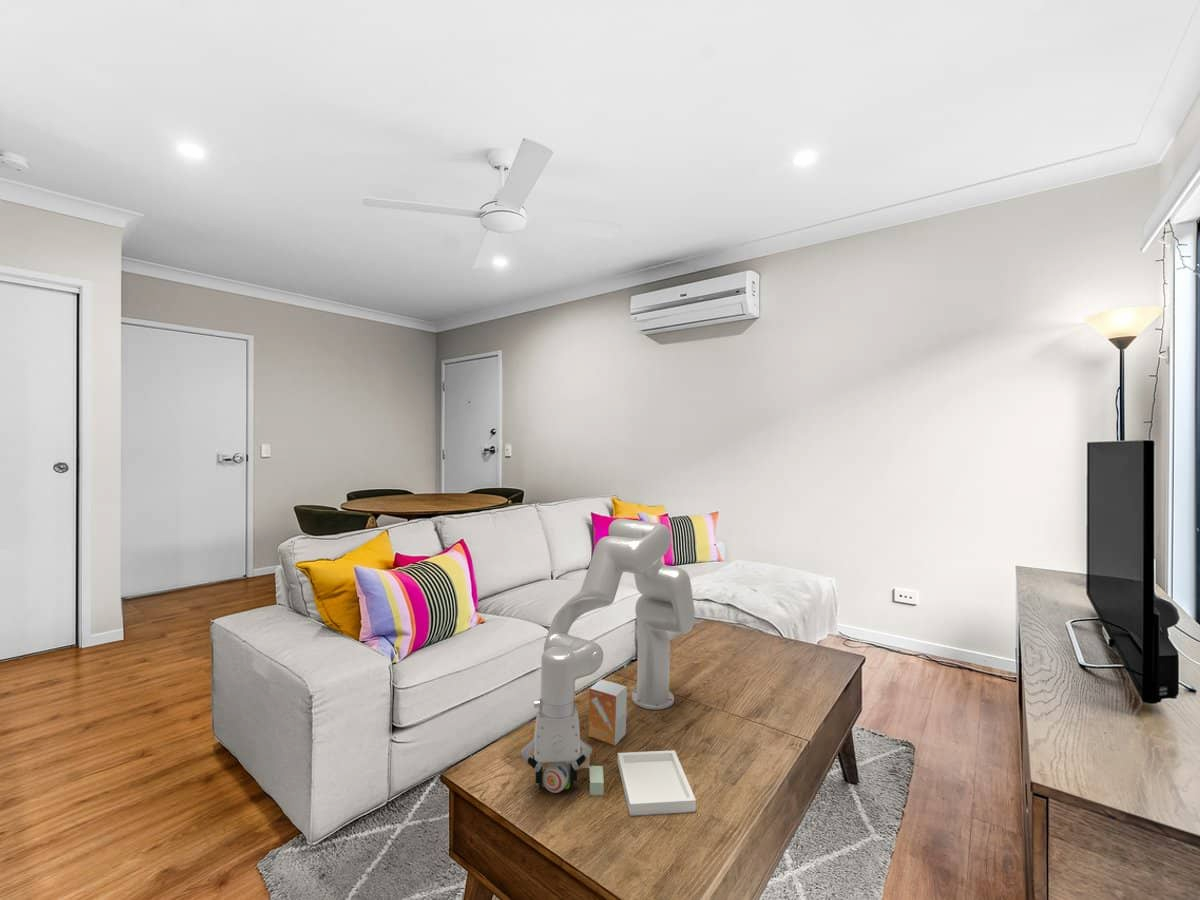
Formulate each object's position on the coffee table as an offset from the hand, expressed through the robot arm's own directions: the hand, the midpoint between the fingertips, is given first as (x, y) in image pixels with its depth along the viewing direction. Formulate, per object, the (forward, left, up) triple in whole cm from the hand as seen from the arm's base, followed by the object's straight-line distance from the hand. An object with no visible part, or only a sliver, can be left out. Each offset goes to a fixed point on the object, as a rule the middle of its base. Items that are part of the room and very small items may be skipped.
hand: (556, 784), depth 121 cm
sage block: (0, +9, -1) cm, 9 cm away
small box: (-20, +14, -1) cm, 24 cm away
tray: (+1, +22, -1) cm, 22 cm away
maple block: (-8, +5, -1) cm, 10 cm away
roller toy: (0, 0, -1) cm, 1 cm away
